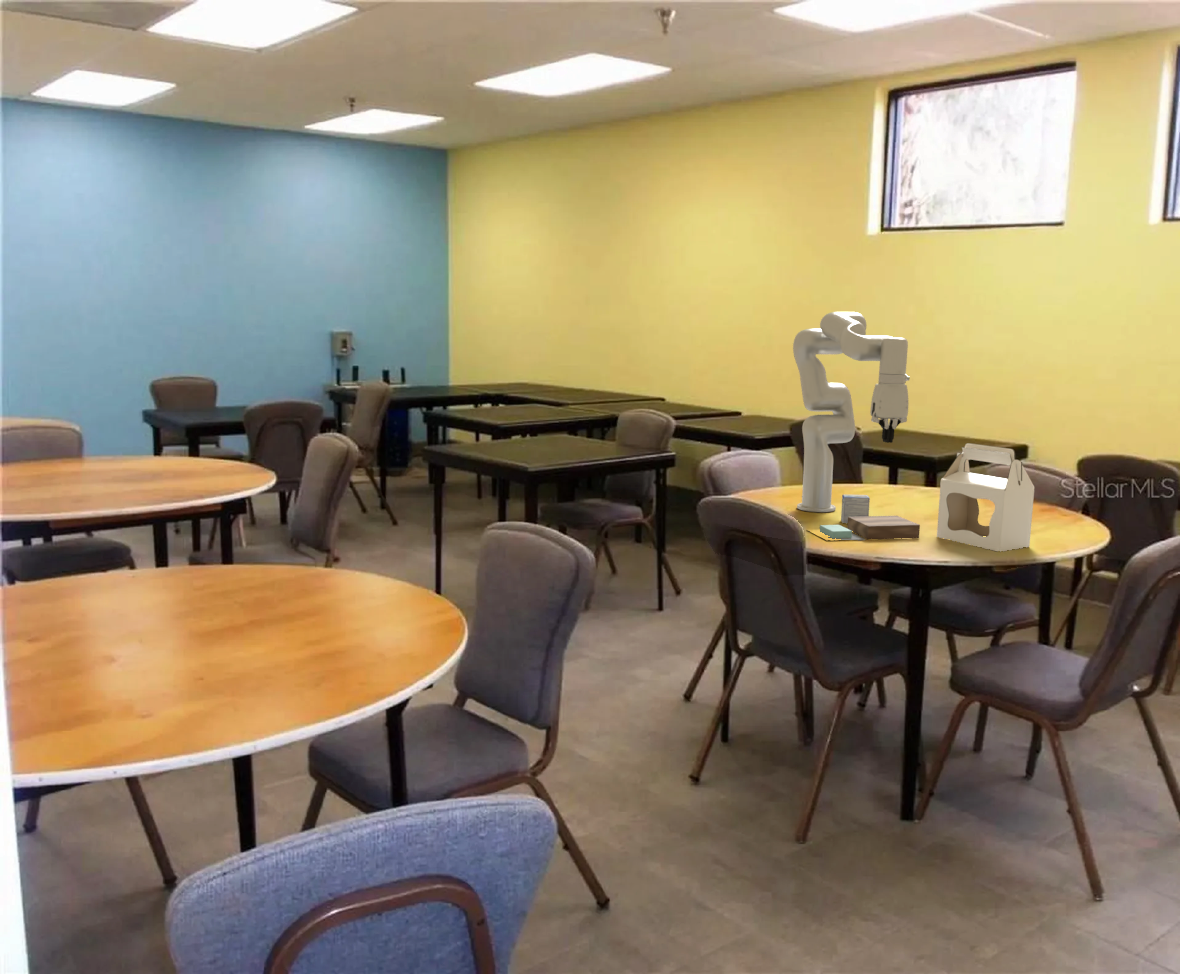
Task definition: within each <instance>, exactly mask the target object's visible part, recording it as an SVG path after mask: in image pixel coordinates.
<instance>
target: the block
mask: <svg viewBox="0 0 1180 974" xmlns="http://www.w3.org/2000/svg"><path fill="white" fill-rule="evenodd" d="M819 529H820V532H822V533H824V534H825V535H828V536H830V537H831V538H852V533H853V532H852V531H851V530H849V529H847V527H845V526H842V525H840V524H823V525H822V524H820V525H819Z"/></svg>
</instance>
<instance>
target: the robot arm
mask: <svg viewBox="0 0 1180 974" xmlns="http://www.w3.org/2000/svg"><path fill="white" fill-rule="evenodd" d="M819 323H820V324H819V328H817V327H816V328H805V329H802V330H800V331H799V332H798V333H796V335H795V337H794V339H793V343H792V344H793V345H792V346H793V347H792V350H793V352H792V353H793V356H794V361H795V365H796V366H797V369H798V373H799V377H800V378H799V379H800V387H801V393H802V394H801V395H802V401H803V405H804V407H805V409H806V410H807V411H809V412H821V413H822V412H832V414H814V415H810V416H808V417H807V418H805V419H804V421H803V423H802V427H801V429H802V430H801V431H802V437H803V438H802V439H803V448H804V449H803V453H804V454H803V475H802V495H801V502H800V503H797V504H796V508H797V509H798V510H801V511H804V512H809V513H811V512H812V513H830V512H834V511H836V506H835V505H834V504H832V494H833V491H832V490H833V472H834V471H833V470H834V454H833V452H832V451H831V448H830V447H829V445H830V444H843V443H844V444H845V443H848V442H851V441H852V440H853V438H854V436H855V433H856V422H855V416H854V408H853V402H852V401H853V400H852V395H851V391H850V390H849V388H848V387H847V386H846V385H845V384H844V383H841V382H829V381H828V379H827V372H826V368H825V366H824V364H823V363H822V361H820V359H819V358H818V357H817V356H816V355H842V354H843V355H845V356H846V357H849V358H850V359H852V360H855V361H859V362H879V371H878V382H877V383H875V384H874V388H873V392H872V397H871V402H870V403H871V404H870V413H869V414H870V416H871V419H870V420H871V422H872V423H876V424H878V425H879V426H880V427H881V428H882V430H881V431H882V433H881V439H882V441H883V442H884V443H893V440H894V439H895V438H894V437H895V429H897V427H898V426H899V425H900V424H903V423H907V422H908V419H907V418H908V414H909V392H908V385H907V384H906V382H908V381H910V376H908V375H907V361H908V348H909V342H908V339H906V338H904V337H896V336H894V337H893V336H891V335H866V333H867V321H866V319H865V317H864V315H863V314H861V313H859V312H857V311H856V312H855V311H832V312H829V313H826V314H825V315H824V316H823V317H822V318H821V319H820V322H819Z"/></svg>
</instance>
